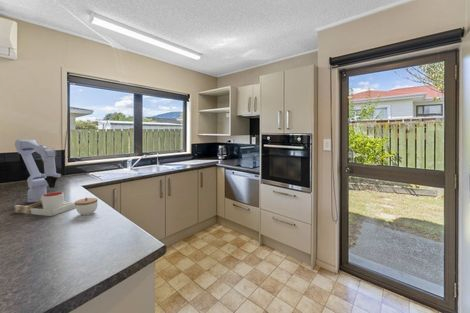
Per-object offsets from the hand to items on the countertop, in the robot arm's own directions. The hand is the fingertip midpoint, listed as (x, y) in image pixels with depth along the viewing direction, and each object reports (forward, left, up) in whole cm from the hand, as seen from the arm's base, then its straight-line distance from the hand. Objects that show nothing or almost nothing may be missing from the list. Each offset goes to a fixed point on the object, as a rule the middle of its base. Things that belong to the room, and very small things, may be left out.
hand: (52, 187), depth 145 cm
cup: (+10, -17, -11) cm, 22 cm away
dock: (+9, -17, -10) cm, 22 cm away
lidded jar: (+32, -28, -11) cm, 43 cm away
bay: (-3, -11, -10) cm, 16 cm away
